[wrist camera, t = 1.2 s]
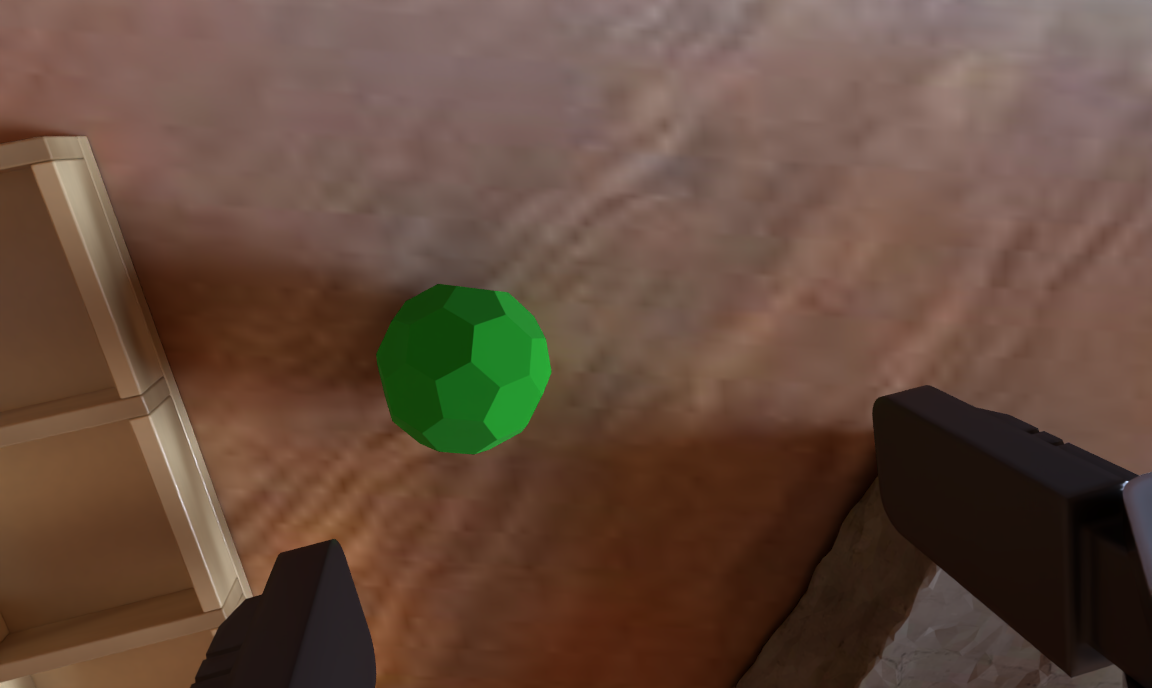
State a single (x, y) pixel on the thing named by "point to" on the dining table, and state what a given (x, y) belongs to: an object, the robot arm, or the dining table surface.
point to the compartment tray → (95, 451)
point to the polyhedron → (463, 368)
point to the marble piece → (898, 624)
